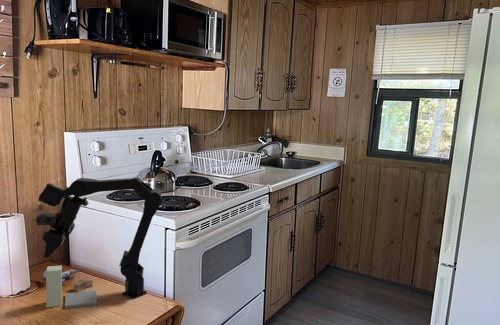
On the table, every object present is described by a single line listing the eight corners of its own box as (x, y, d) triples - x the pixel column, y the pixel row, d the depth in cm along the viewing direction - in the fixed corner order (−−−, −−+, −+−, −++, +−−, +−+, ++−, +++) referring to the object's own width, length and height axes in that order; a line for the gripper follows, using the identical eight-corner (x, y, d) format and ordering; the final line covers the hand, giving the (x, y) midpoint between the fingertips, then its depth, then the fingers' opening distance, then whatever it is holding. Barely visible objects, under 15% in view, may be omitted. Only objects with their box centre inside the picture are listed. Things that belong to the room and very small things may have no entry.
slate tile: (96, 292, 144) (96, 289, 144) (97, 304, 135) (97, 301, 134) (65, 296, 140) (65, 293, 140) (65, 308, 131) (65, 306, 130)
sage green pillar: (61, 300, 137) (61, 265, 135) (61, 305, 133) (61, 270, 131) (47, 301, 135) (47, 266, 134) (46, 307, 131) (46, 271, 129)
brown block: (87, 285, 150) (87, 277, 150) (92, 287, 148) (92, 279, 148) (73, 290, 145) (73, 282, 145) (77, 292, 143) (78, 284, 143)
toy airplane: (87, 275, 158) (87, 267, 158) (66, 290, 145) (66, 280, 144) (58, 272, 160) (58, 263, 160) (34, 286, 147) (34, 276, 146)
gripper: (52, 197, 143) (34, 236, 144) (36, 209, 125) (16, 253, 126) (82, 209, 146) (65, 247, 146) (70, 222, 128) (50, 265, 128)
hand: (49, 252), depth 137 cm, fingers open, 9 cm apart
